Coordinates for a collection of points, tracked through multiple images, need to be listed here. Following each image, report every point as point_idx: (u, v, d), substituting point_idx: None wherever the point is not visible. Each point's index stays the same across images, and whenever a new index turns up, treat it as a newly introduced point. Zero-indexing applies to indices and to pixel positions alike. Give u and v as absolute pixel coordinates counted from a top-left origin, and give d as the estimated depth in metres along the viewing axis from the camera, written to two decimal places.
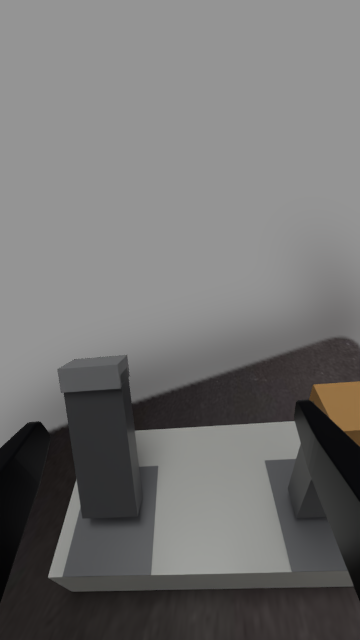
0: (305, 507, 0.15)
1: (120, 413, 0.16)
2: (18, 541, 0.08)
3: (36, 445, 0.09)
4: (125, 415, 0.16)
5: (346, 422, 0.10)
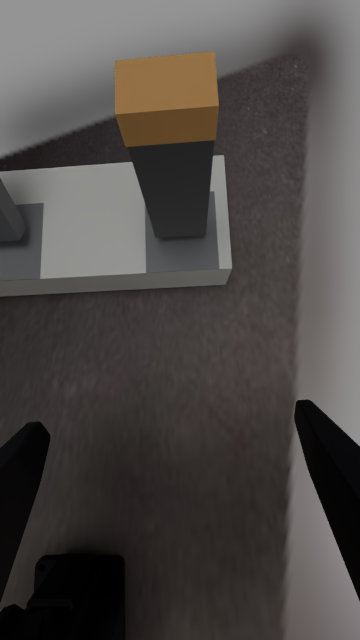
0: (156, 226, 0.17)
1: None
2: (18, 541, 0.08)
3: (36, 445, 0.09)
4: None
5: (129, 105, 0.09)
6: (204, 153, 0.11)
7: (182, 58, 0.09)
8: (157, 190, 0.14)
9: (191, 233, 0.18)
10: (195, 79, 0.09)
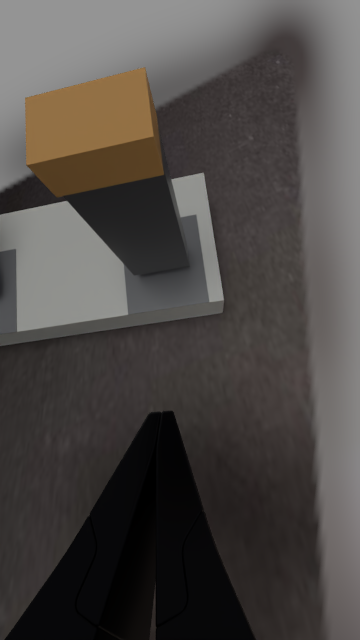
0: (131, 265, 0.15)
1: None
2: None
3: None
4: None
5: (43, 150, 0.07)
6: (158, 189, 0.09)
7: (105, 82, 0.07)
8: (117, 233, 0.12)
9: (172, 266, 0.16)
10: (122, 106, 0.07)
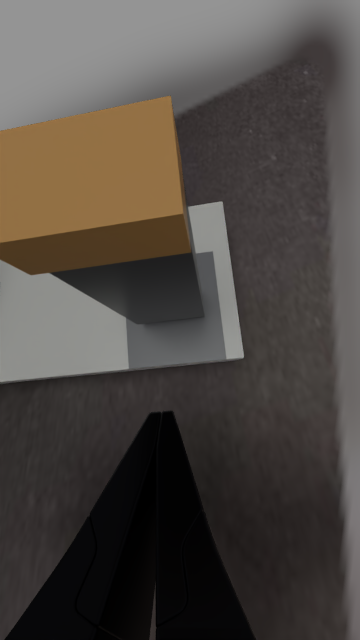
0: (134, 318, 0.12)
1: None
2: None
3: None
4: None
5: (3, 225, 0.04)
6: (178, 260, 0.07)
7: (106, 116, 0.05)
8: (119, 296, 0.09)
9: (184, 317, 0.13)
10: (132, 159, 0.04)
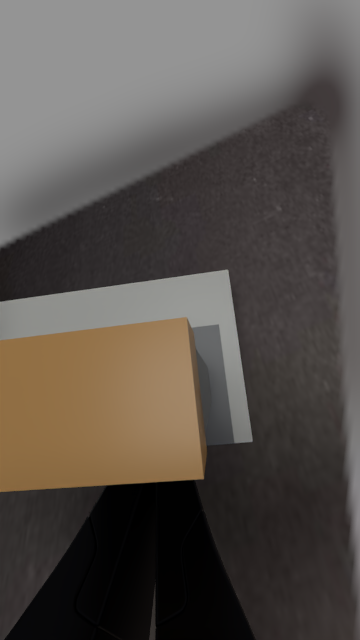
0: None
1: None
2: None
3: None
4: None
5: None
6: None
7: (115, 335, 0.04)
8: None
9: None
10: (143, 397, 0.04)
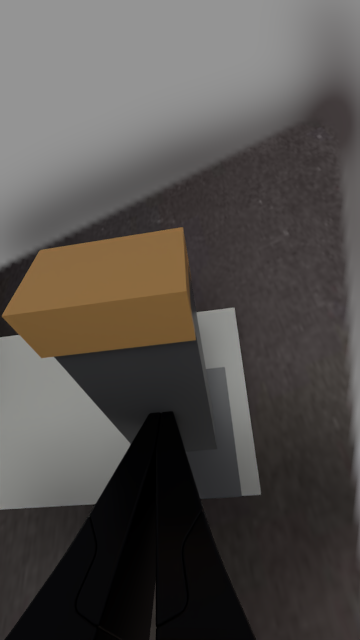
0: None
1: None
2: None
3: None
4: None
5: (32, 300, 0.05)
6: (184, 356, 0.07)
7: (135, 238, 0.06)
8: (123, 404, 0.09)
9: (194, 448, 0.12)
10: (149, 260, 0.06)
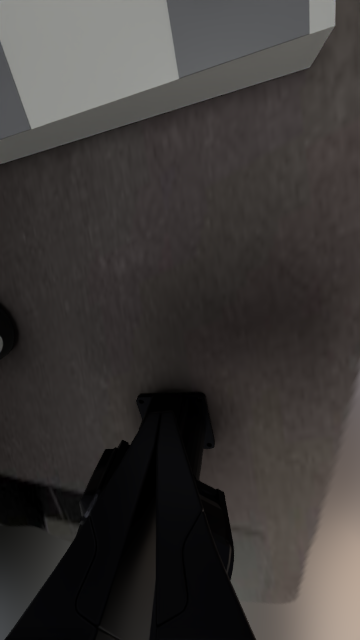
0: None
1: None
2: None
3: None
4: None
5: None
6: None
7: None
8: None
9: None
10: None
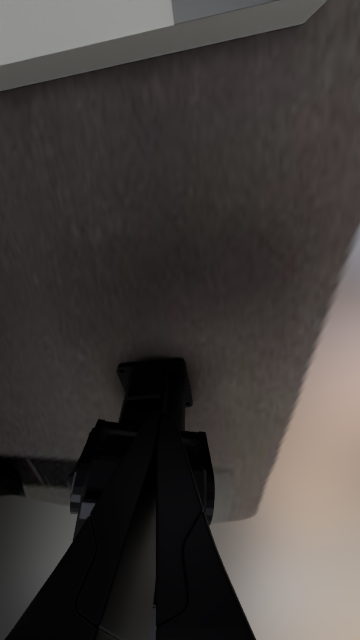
0: None
1: None
2: None
3: None
4: None
5: None
6: None
7: None
8: None
9: None
10: None
